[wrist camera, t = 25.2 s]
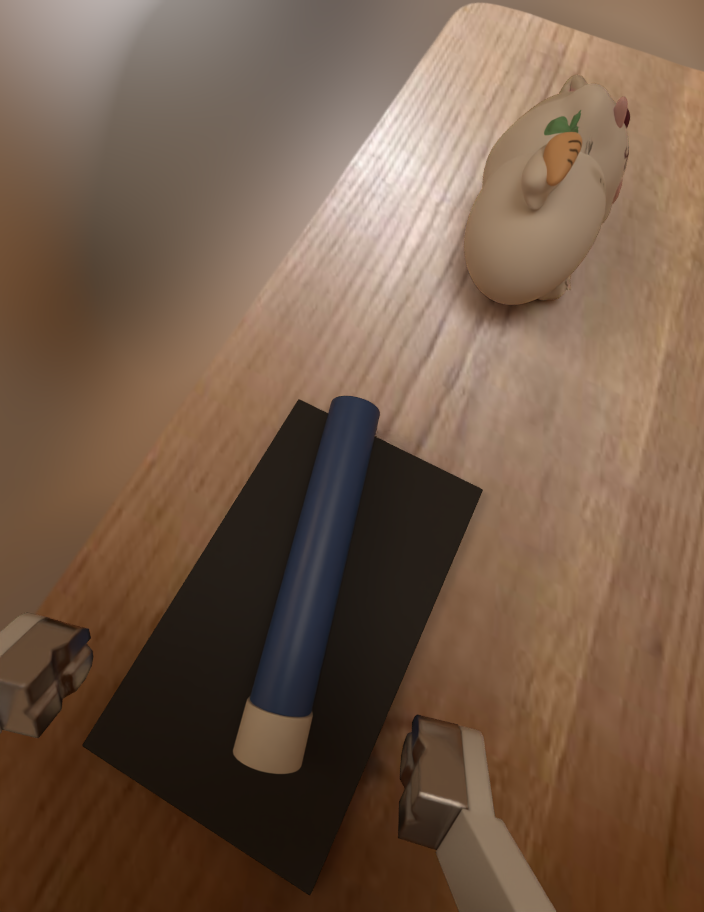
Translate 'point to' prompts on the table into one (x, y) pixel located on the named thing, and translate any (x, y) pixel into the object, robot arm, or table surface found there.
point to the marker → (308, 594)
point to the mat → (243, 638)
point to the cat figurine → (547, 194)
